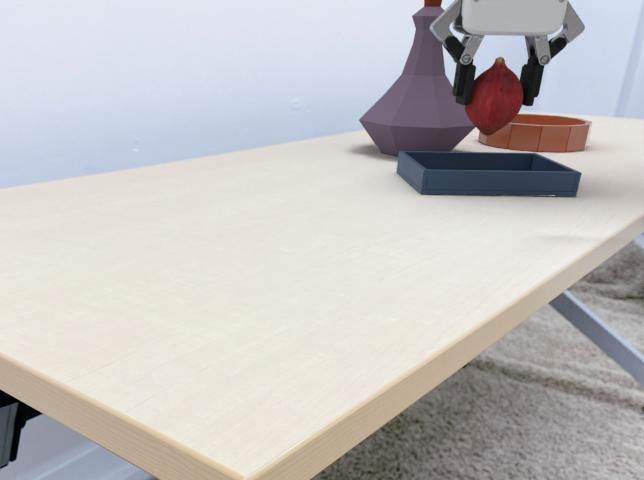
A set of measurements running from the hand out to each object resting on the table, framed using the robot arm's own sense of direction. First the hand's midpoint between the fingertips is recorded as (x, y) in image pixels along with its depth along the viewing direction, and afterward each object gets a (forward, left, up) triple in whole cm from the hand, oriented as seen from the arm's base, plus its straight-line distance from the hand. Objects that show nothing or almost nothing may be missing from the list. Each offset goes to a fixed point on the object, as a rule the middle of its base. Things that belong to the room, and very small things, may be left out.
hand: (493, 102), depth 76 cm
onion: (0, 0, -4) cm, 4 cm away
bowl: (-17, -30, -9) cm, 36 cm away
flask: (+2, -21, -9) cm, 23 cm away
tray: (0, 0, -9) cm, 9 cm away
